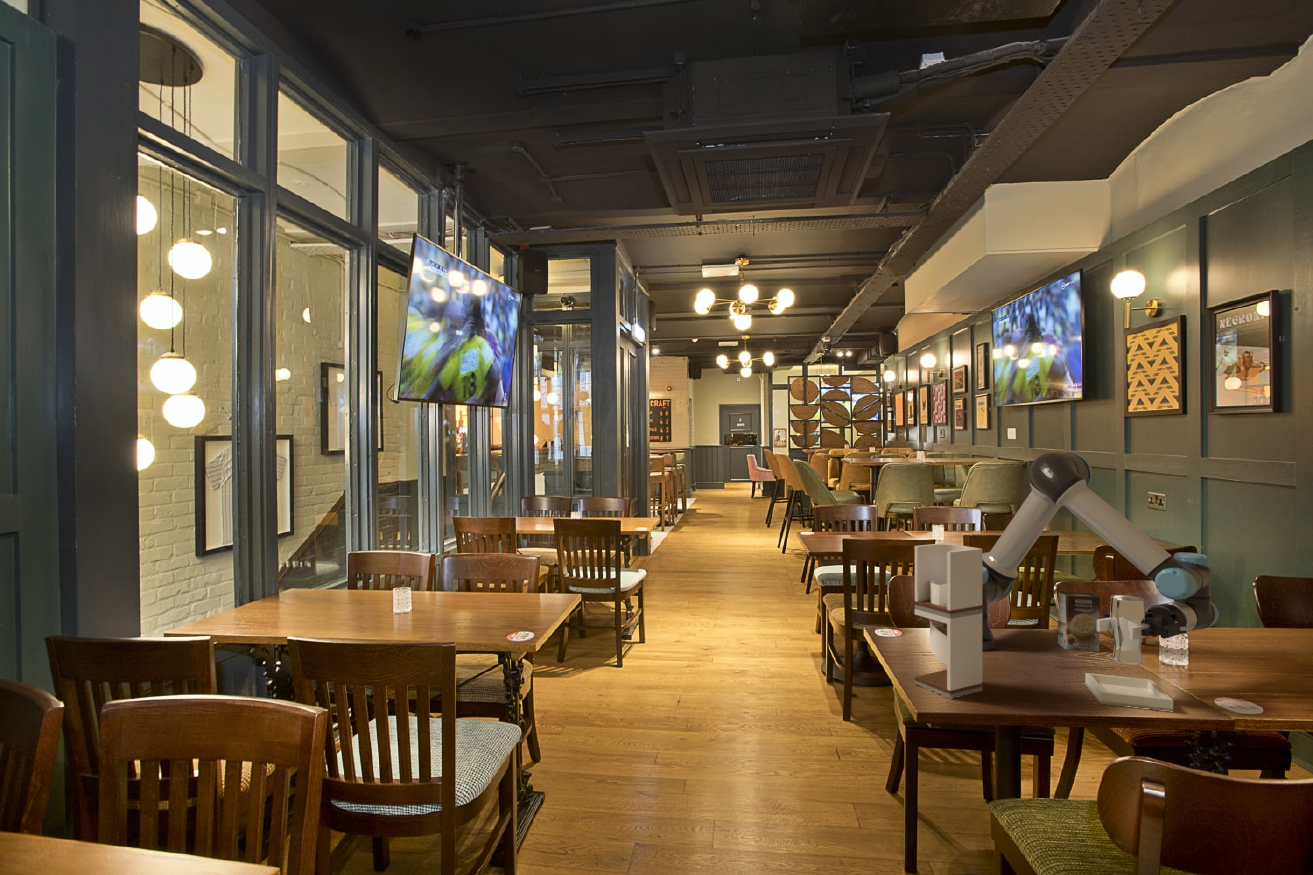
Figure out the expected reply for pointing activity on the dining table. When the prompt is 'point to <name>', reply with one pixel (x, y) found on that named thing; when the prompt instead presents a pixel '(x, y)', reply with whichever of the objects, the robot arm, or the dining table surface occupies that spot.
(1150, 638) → the croissant
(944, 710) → the dining table surface
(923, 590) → the tall white shelf unit
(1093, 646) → the coffee box
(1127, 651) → the beer glass
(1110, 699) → the dish
